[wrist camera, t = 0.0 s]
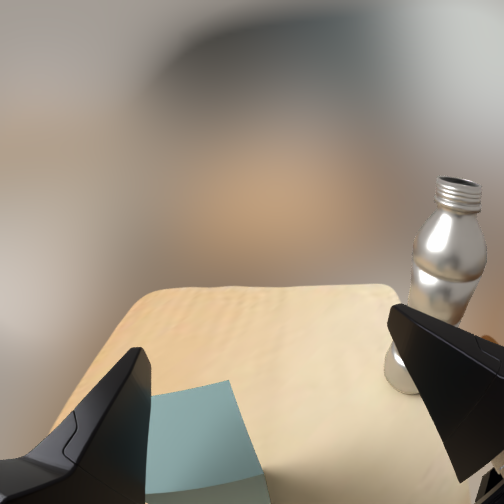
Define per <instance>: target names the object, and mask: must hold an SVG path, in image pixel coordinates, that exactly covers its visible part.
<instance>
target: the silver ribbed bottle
mask: <svg viewBox="0 0 504 504" xmlns="http://www.w3.org/2000/svg"><path fill="white" fill-rule="evenodd" d="M481 195H482V186H481V185H480V184H478V183H476V182H473V181H470V180H467V179H463V178H458V177H452V176H438V177H437V180H436V194H435V195H434V202H435V203H436V204H437V209H436V211H435V212H434V213H433V214H432V215H431V216H430V217H429V218H428V219H427V220H426V222H425V223H424V224H423V226H422V227H421V228H420V229H419V231H418V233H417V235H416V237H415V239H414V242H413V250H412V268H411V287H410V292H409V297H408V303H407V306H409V307H411V308H413V309H416V310H418V311H420V312H423V313H425V314H427V315H430V316H432V317H434V318H437V319H439V320H441V321H444V322H446V323H448V324H451V325H453V326H455V327H458V326H459V324H460V322H461V319H462V317H463V315H464V313H465V310H466V308H467V306H468V303H469V301H470V299H471V297H472V295H473V293H474V291H475V289H476V287H477V284H478V282H479V280H480V278H481V276H482V274H483V271H484V268H485V266H486V263H487V246H486V242H485V239H484V235H483V233H482V230H481V227H480V225H479V223H478V220H477V213H479V212H481ZM384 374H385V377H386V379H387V381H388V382H389V383H390V385H391V386H392V387H393V388H394V389H396V390H397V391H399V392H402V393H406V394H417V393H419V392H418V390H417V388H416V386H415V384H414V382H413V380H412V378H411V376H410V374H409V373H408V371H407V369H406V367H405V365H404V363H403V361H402V359H401V357H400V355H399V353H398V350H397V348H396V346H395V343H394V341H393V342H392V343H391V345H390V347H389V349H388V351H387V353H386V356H385V363H384Z"/></svg>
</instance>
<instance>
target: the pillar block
mask: <svg viewBox="0 0 504 504" xmlns="http://www.w3.org/2000/svg"><path fill="white" fill-rule="evenodd" d="M145 502H146V503H148V504H271V501H270V497H269V493H268V489H267V484H266V480H265V476H264V472H263V470H262V468H261V465H260V463H259V460H258V458H257V455H256V453H255V450H254V448H253V445H252V443H251V440H250V437H249V435H248V432H247V430H246V427H245V424H244V422H243V419H242V416H241V413H240V411H239V408H238V405H237V402H236V399H235V396H234V394H233V391H232V388H231V385H230V382H229V380H227V381H223V382H219V383H215V384H211V385H206V386H202V387H198V388H193V389H188V390H183V391H178V392H173V393H167V394H162V395H156V396H151V413H150V423H149V434H148V447H147V463H146V486H145Z"/></svg>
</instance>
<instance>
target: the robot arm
mask: <svg viewBox="0 0 504 504" xmlns="http://www.w3.org/2000/svg"><path fill="white" fill-rule="evenodd" d="M387 326H388V330H389V332H390V334H391V336H392V339H393V341H394V343H395V346H396V348H397V350H398V353H399V355H400V357H401V359H402V361H403V363H404V365H405V367H406V369H407V371H408V373H409V374H410V376H411V378H412V380H413V382H414V384H415V386H416V388H417V390H418V392H419V394H420V396H421V398H422V399H423V401H424V403H425V405H426V408H427V410H428V412H429V414H430V416H431V418H432V420H433V422H434V424H435V426H436V428H437V431H438V433H439V435H440V437H441V439H442V442H444V443H443V444H444V447H445V449H446V451H447V453H448V456H449V458H450V461H451V463H452V465H453V468H454V470H455V473H456V476H457V478H458V481H459V482H460V483H462V482H463V481H465V480H466V479H467V478H469V477H470V476H472V475H473V474H474V473H476V472H477V471H478V470H480V469H481V468H482V467H484V466H485V465H486V464H488V463H489V462H490V461H491V462H492V464H493V466H494V467H493V468H492V469H491V470H490V471H488V472H487V473H486V474H485V475H484V476H482V481H481V484H480V487H479V490H478V494H477V497H476V500H475V502H476V503H475V504H504V347H503V346H501V345H498V344H495V343H492V342H490V341H488V340H485V339H483V338H480V337H478V336H476V335H475V336H474V334H471V333H469V332H467V331H464V330H462V329H460V328H458V327H455V326H453V325H451V324H448V323H446V322H444V321H441V320H439V319H437V318H434V317H432V316H430V315H427V314H425V313H423V312H420V311H418V310H416V309H413V308H411V307H409V306H406V305H404V304H396V305H393V306H392V307H391V309H390V313H389V318H388V322H387ZM150 413H151V364H150V362H149V359H148V357H147V355H146V353H145V351H144V349H143V348H142V347H133V348H131V349H129V351H128V352H127V353H126V354H125V355H124V356H123V357H122V358H121V359H120V360H119V361H118V362H117V363H116V364H115V365H114V366H113V367H112V369H111V370H110V371H109V372H108V373H107V374H106V375H105V376H104V377H103V378H102V379H101V380H100V381H99V382H98V384H97V385H96V386H95V387H94V388H93V389H92V390H91V391H90V392H89V393H88V394H87V395H86V397H85V398H84V399H83V400H82V401H81V402H80V403H79V404H78V405H77V406H76V407H75V409H74V410H73V411H72V412H71V413H70V414H69V415H68V416H67V417H66V418H65V419H64V420H63V421H62V423H61V424H60V425H59V426H58V427H57V428H55V429H54V430H53V431H52V432H51V433H50V434H49V435H48V436H47V437H46V438H45V439H44V440H43V441H41V442H40V443H39V444H38V445H37V446H36V447H35V448H34V449H33V450H31V451H30V452H29V453H28V454H26V455H25V456H22V457H20V458H15V459H6V460H0V504H145V486H146V463H147V447H148V434H149V423H150Z"/></svg>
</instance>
